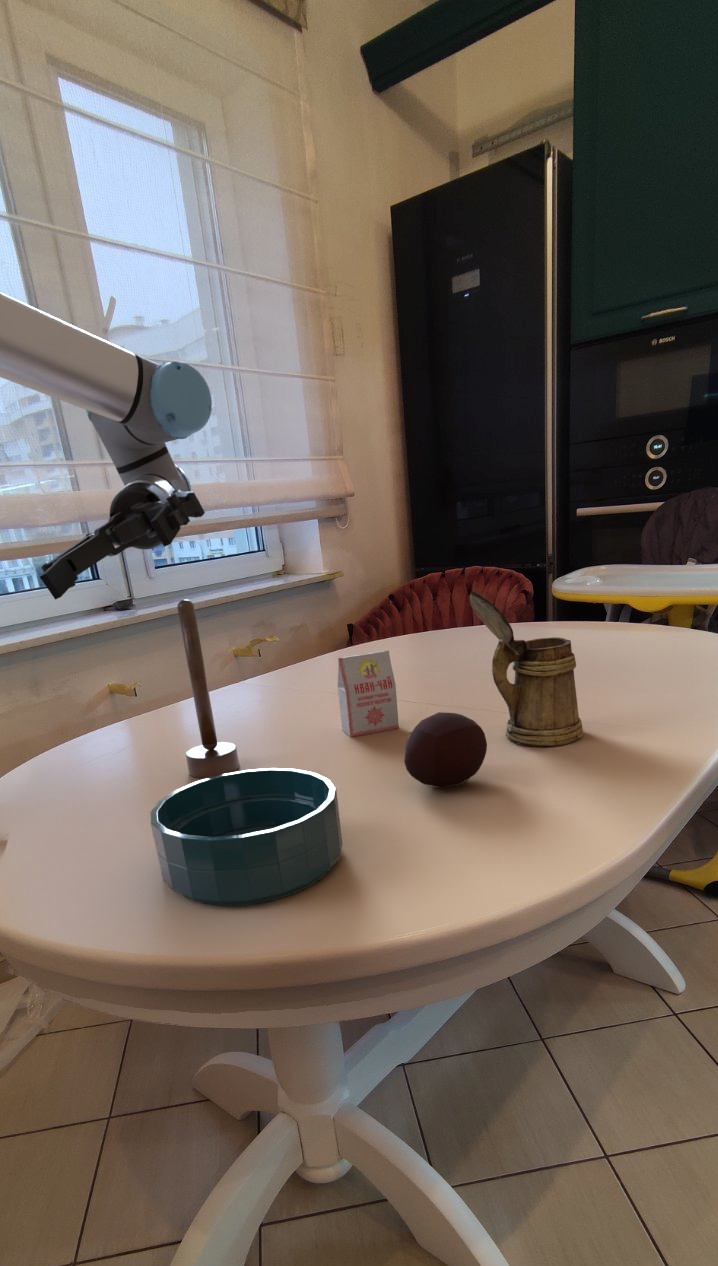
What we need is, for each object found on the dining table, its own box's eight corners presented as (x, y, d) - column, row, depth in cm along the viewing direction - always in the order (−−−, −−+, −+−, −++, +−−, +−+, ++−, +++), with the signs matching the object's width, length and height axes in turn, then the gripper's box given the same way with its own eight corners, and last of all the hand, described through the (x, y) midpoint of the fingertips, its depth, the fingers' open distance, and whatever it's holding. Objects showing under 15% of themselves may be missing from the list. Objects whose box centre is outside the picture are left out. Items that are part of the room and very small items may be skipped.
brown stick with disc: (179, 777, 85) (145, 604, 78) (206, 760, 91) (176, 597, 83) (223, 779, 83) (192, 602, 76) (248, 761, 88) (221, 594, 81)
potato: (506, 783, 74) (505, 710, 71) (434, 808, 70) (429, 731, 67) (457, 765, 80) (454, 697, 78) (387, 786, 76) (381, 716, 73)
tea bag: (342, 730, 97) (334, 656, 94) (389, 721, 99) (383, 648, 95) (350, 736, 94) (342, 660, 90) (398, 728, 96) (393, 652, 92)
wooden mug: (459, 738, 89) (453, 588, 83) (557, 720, 92) (559, 574, 86) (491, 759, 81) (487, 594, 75) (597, 738, 84) (603, 578, 78)
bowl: (127, 900, 58) (110, 832, 56) (222, 823, 71) (212, 765, 69) (298, 920, 53) (287, 846, 51) (367, 832, 66) (361, 771, 64)
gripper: (245, 499, 93) (226, 544, 75) (82, 578, 98) (29, 638, 80) (215, 439, 89) (189, 473, 71) (47, 525, 94) (-17, 576, 76)
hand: (104, 560), depth 76 cm, fingers open, 13 cm apart
